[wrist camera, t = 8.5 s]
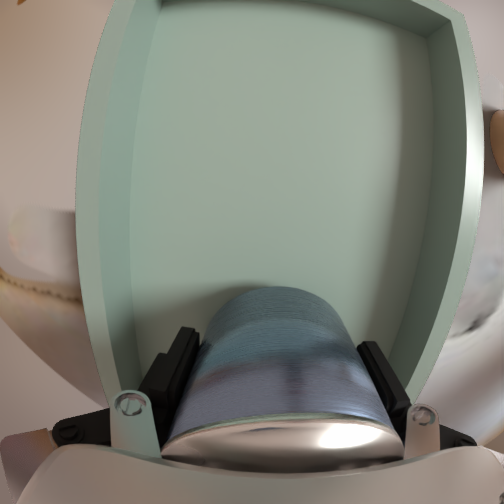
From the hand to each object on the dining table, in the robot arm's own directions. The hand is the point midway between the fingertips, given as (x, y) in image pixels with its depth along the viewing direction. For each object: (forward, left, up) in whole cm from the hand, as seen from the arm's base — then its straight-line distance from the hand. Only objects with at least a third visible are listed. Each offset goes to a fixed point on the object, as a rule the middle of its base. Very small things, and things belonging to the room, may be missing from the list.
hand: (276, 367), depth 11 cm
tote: (0, -6, -3) cm, 7 cm away
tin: (0, 0, -1) cm, 1 cm away
